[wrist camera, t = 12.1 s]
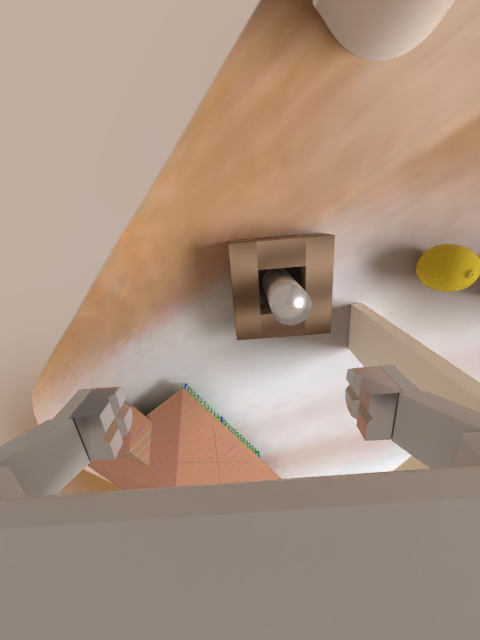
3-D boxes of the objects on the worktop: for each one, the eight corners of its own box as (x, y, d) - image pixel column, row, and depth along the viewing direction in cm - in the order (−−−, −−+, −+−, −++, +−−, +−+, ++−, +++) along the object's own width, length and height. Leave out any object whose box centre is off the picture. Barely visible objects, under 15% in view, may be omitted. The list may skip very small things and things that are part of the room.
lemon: (414, 237, 35) (462, 242, 28) (453, 247, 36) (510, 254, 28) (396, 278, 37) (437, 293, 29) (433, 287, 37) (482, 304, 30)
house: (174, 363, 42) (160, 396, 34) (297, 480, 51) (307, 526, 43) (81, 437, 47) (51, 479, 39) (208, 531, 56) (203, 580, 48)
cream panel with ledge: (270, 310, 38) (359, 556, 10) (361, 303, 38) (706, 537, 10) (273, 376, 42) (343, 685, 14) (356, 370, 42) (594, 674, 14)
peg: (261, 268, 36) (270, 288, 26) (291, 266, 36) (311, 285, 26) (263, 297, 38) (272, 326, 27) (291, 294, 38) (311, 323, 27)
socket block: (229, 240, 35) (228, 243, 30) (321, 232, 35) (334, 235, 30) (236, 325, 39) (236, 340, 35) (319, 319, 39) (330, 333, 34)
